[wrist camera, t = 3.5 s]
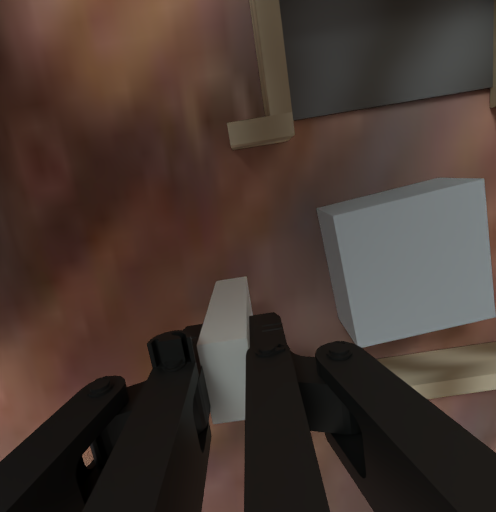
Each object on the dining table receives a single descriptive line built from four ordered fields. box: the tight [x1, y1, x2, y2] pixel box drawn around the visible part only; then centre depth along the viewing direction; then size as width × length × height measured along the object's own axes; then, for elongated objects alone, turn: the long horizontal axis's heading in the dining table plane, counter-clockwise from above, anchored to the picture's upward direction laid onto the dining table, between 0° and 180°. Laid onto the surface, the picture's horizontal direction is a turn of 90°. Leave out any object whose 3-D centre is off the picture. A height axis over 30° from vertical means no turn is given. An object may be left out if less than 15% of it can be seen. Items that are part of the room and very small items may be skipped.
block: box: [316, 178, 496, 348], centre depth 18 cm, size 7×7×4 cm
